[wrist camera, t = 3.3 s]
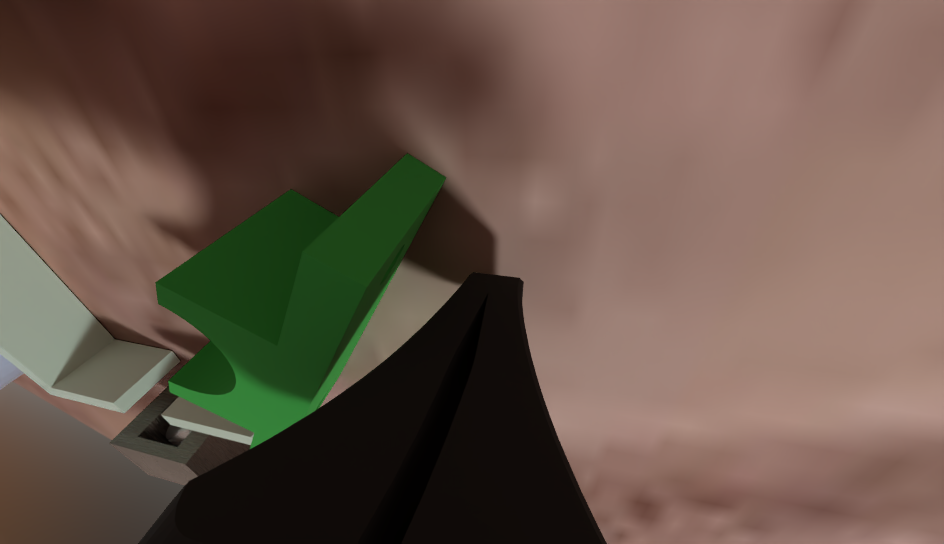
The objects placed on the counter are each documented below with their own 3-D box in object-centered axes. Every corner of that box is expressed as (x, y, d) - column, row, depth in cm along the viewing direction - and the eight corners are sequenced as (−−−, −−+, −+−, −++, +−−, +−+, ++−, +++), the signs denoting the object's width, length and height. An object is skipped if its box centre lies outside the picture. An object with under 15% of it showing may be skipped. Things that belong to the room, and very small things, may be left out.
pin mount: (180, 374, 20) (108, 443, 17) (247, 389, 19) (185, 464, 16) (208, 407, 22) (148, 474, 19) (270, 422, 21) (218, 495, 18)
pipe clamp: (315, 89, 9) (136, 155, 5) (449, 173, 9) (368, 285, 6) (262, 333, 16) (170, 432, 12) (341, 373, 16) (274, 480, 13)
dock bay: (112, 347, 20) (50, 394, 17) (-255, -43, 10) (-505, -51, 8) (301, 386, 17) (258, 447, 15) (62, -72, 8) (-159, -97, 5)
